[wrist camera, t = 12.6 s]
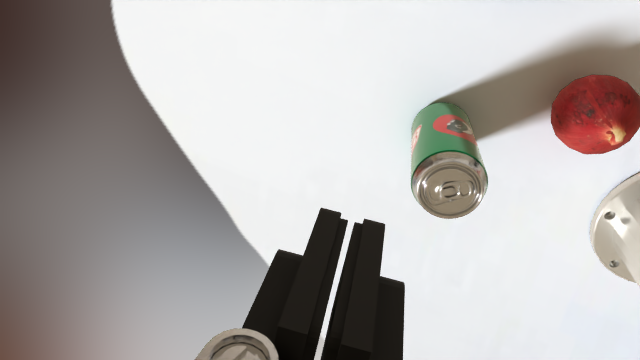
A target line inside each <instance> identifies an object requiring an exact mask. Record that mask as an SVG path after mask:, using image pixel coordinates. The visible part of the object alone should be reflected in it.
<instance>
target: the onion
mask: <svg viewBox="0 0 640 360" xmlns="http://www.w3.org/2000/svg"><path fill="white" fill-rule="evenodd" d="M551 124H552V126H553V129H554V132H555V135H556V136H557V137H558V138H559V139H560V140H561V141H562V142H563V143H564V144H565V145H567V146H568V147H569V148H571V149H574V150H576V151H578V152H581V153H583V154H603V153H606V152H609V151H612V150H615V149H618V148H619V147H621V146H622V145H624V144H626V143H627V142H629V141H630V140H631V138H632V137H633V136H634V134H635V133H636V132H637V131H638V129H639V128H640V96H639V95H638V94H637V93H636V92H635V90H634V89H633V88H632V87H631V86H630V85H629V84H628V83H627V82H625V81H622V80H620V79H618V78H616V77H614V76H608V75H590V76H586V77H583V78H580V79H576V80H574V81H573V82H572V83H570V84H569V85H568V86H566V87H565V88H563V89H562V90H561V91H560V92H559V94H558V96H557V97H556V99H555V101H554V102H553V104H552V111H551Z"/></svg>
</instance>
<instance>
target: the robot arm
mask: <svg viewBox="0 0 640 360" xmlns="http://www.w3.org/2000/svg"><path fill="white" fill-rule="evenodd" d="M340 217H341V213H340V212H336V211H332V210H328V209H324V208H321V209H320V211H319V214H318V217H317V220H316V222H315V225H314V228H313V231H312V233H311V236H310V239H309V241H308V244H307V247H306V250H305V252H304V255H303V256H302V255H299V254H295V253H291V252H287V251H283V250H280V249H279V250H278V251H277V253H276V255H275V257H274V259H273V261H272V263H271V266H270V268H269V270H268V272H267V274H266V277H265V279H264V281H263V283H262V286H261V288H260V290H259V292H258V294H257V296H256V299H255V301H254V303H253V305H252V307H251V309H250V311H249V314H248V316H247V318H246V320H245V322H244V325H243V327H242V329H231V330H227V331H224V332H222V333H220V334H218V335H216V336H215V337H213V338H212V339H211V340H210V341H209V342H208V343H207V344H206V345H205V347H204V348H203V349H202V351H201V352H200V353H199V355H198V356H197V357H196V359H195V360H314V356H315V352H316V349H317V345H318V341H319V337H320V333H321V329H322V325H323V321H324V317H325V313H326V308H327V304H328V300H329V296H330V292H331V288H332V284H333V280H334V276H335V272H336V268H337V264H338V260H339V256H340V251H341V247H342V243H343V239H344V235H345V231H346V227H347V223H348V220H345V219H341V218H340ZM384 232H385V224H383V223H379V222H375V221H371V220H367V219H364V221H363V224H360V223H356V222H355V223H354V227H353V231H352V234H351V238H350V242H349V246H348V250H347V254H346V258H345V261H344V265H343V269H342V273H341V277H340V281H339V284H338V288H337V292H336V296H335V300H334V304H333V308H332V312H331V317H330V321H329V325H328V330H327V334H326V338H325V343H324V347H323V352H322V356H321V360H403V332H404V296H405V285H404V282H400V281H397V280H393V279H389V278H385V277H382V276H380V270H381V260H382V251H383V241H384ZM590 241H591V245H592V247H593V250H594V252H595V254H596V255H597V257H598V258H599V260H600V262H601V263H602V264H603V265H604V266H605V267H606V268H607V269H608V270H609V271H611V272H612V273H614V274H615V275H617V276H619V277H621V278H623V279H626V280H628V281H631V282H635V283H637V284H638V286H639V287H640V173H638V174H636V175H635V176H633V177H631V178H629V179H627V180H625V181H624V182H622V183H621V184H620V185H618V186H617V187H616V188H614V189H613V190H612V191H611V192H610V193H609V194H608V195H607V196H606V197H605V198H604V199H603V200H602V202H601V203H600V205H599V206H598V208H597V209H596V211H595V213H594V216H593V218H592V221H591V226H590Z"/></svg>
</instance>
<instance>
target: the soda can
mask: <svg viewBox="0 0 640 360" xmlns="http://www.w3.org/2000/svg"><path fill="white" fill-rule="evenodd" d="M487 185H488V177H487V173H486V170H485V167H484V164H483V161H482V158H481V155H480V152H479V149H478V146H477V143H476V140H475V137H474V134H473V131H472V128H471V125H470V122H469V119H468V117H467V115H466V114H465V112H464V111H463V110H462V109H461V108H459V107H458V106H456V105H453V104H450V103H435V104H431V105H429V106H427V107H425V108H424V109H422V110H421V111H420V112H419V113H418V114H417V116H416V117H415V119H414V121H413V124H412V138H411V189H412V192H413V195H414V197H415V199H416V200H417V202H418V203H419V204H420V205H421V206H422V207H423V208H424V209H425V210H426V211H427V212H429V213H430V214H432V215H434V216H437V217H440V218H447V219H452V218H458V217H462V216H465V215H467V214H469V213H470V212H472V211H473V210H474V209H475V208H476V207H477V206H478V205H479V204H480V202H481V200H482V198H483V197H484V195H485V193H486V190H487Z"/></svg>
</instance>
